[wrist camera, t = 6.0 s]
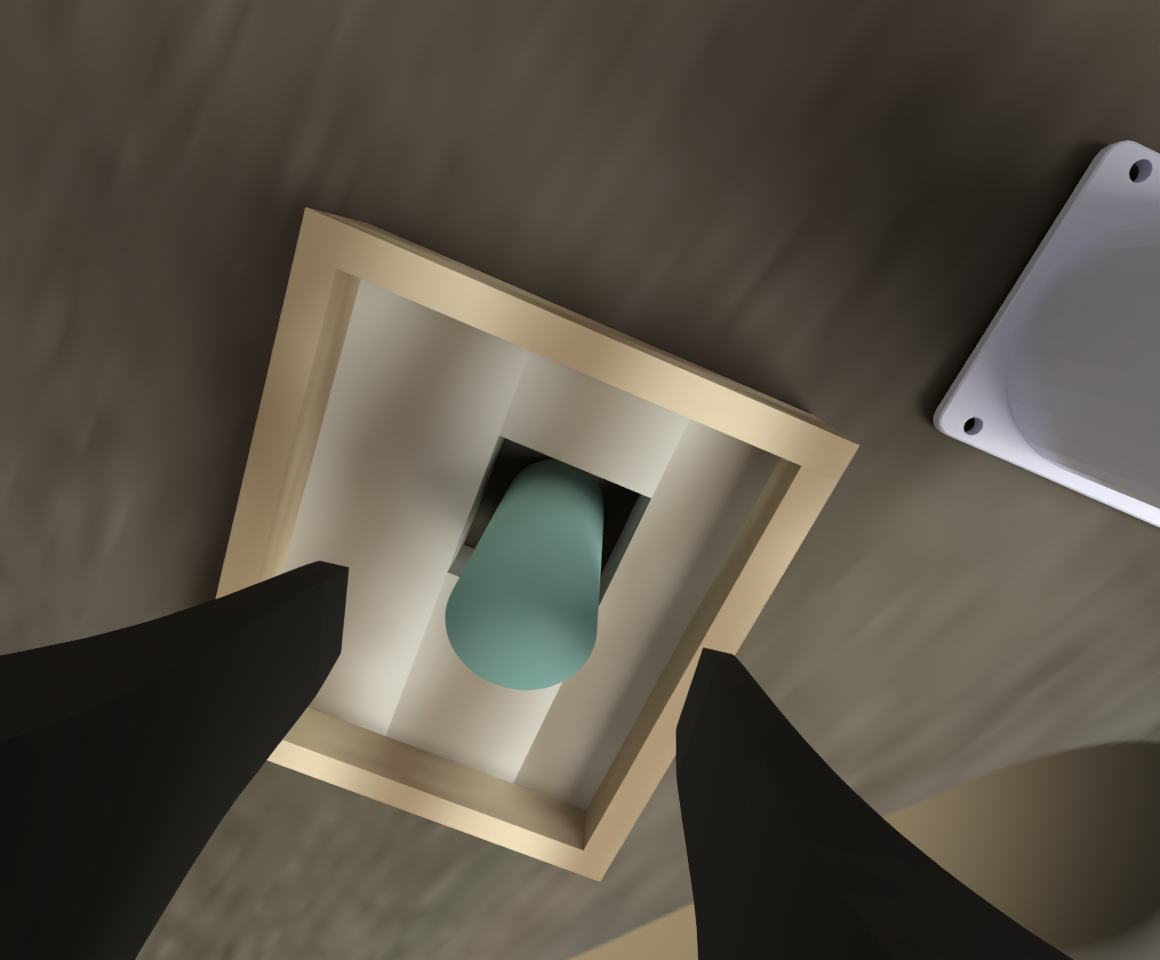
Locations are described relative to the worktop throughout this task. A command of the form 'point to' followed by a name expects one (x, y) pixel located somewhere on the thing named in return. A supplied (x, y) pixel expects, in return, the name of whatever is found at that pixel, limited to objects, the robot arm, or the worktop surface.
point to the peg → (532, 581)
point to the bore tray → (447, 509)
